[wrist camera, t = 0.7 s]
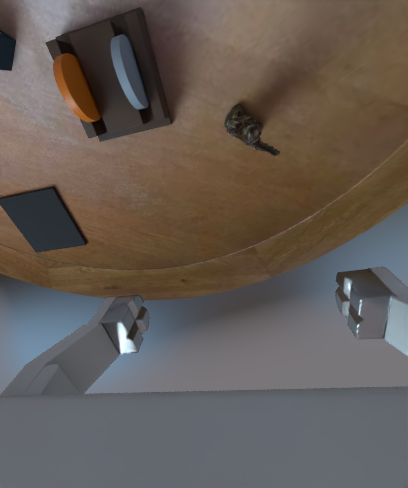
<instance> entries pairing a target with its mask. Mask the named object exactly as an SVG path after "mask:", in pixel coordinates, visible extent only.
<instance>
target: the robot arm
mask: <svg viewBox="0 0 408 488" xmlns="http://www.w3.org/2000/svg"><path fill="white" fill-rule="evenodd" d="M336 282H337V283H338V285H339V287H338V289H337V290H336V302H337V306H338V308H339V311H340V312H341V314H342V315H343V316H345V317H346V318H348V326H349V328H350V329H351V331H352V333H353V334H354V336H355V338H356V339H382V338H384V340H385V341H387V342H388V343H390V344H391V345H393V346H394V347H395V348H397V349H398V350H400V351H401V352H403V353H404V354H406V355H407V356H408V287H407V286H406V285H405V284H404V283H402V282H401V281H400V280H399V279H398V278H397V277H396V276H395V275H394V274H393V273H391V272H390V271H389V270H388V269H387V268H385V267H376V268H368V269H364V270H355V271H347V272H338V273H337V276H336ZM142 304H143V299H142V297H141V296H140V295H129V296H118V297H109V298H107V299H105V300H104V302H103V303H102V305H101V306H100V308H99V309H98V310H97V311H96V313H95V314H94V316H93V317H92V318H91V320H90V321H89V322H88V324H87V325H83V326H81V327H80V328H79V329H77V330H76V331H74V332H73V333H71V334H70V335H68V336H67V337H65V338H64V339H63V340H61V341H60V342H58V343H57V344H55V345H54V346H52V347H51V348H49V349H48V350H47V351H45V352H44V353H42V354H41V355H40V356H38V357H37V358H35V359H33V360H32V361H31V362H29V363H28V364H26V365H25V366H24V368H23V369H22V370H21V371H20V372H19V374H18V375H17V376H16V377H15V378H14V379H13V381H12V382H11V383H10V384H9V385H8V387H7V388H6V389H5V390H4V391H3V393H2V394H1V395H0V488H408V386H404V387H402V386H401V387H359V388H318V389H317V388H315V389H274V390H234V391H233V390H232V391H190V392H189V391H186V392H146V393H145V392H144V393H143V392H142V393H101V394H100V393H99V394H84V393H85V392H86V391H87V389H88V388H89V387H90V386H91V385H92V384H93V383H94V382H95V381H96V380H97V379H98V378H99V377H100V376H101V375H102V373H103V372H104V371H105V370H106V369H107V368H108V367H109V366H110V365H111V364H112V363H113V362H114V361H115V360H116V359H117V357H118V356H119V354H126V353H137V352H138V351H139V349H140V346H141V344H142V341H143V337H142V334H144V333H145V332H146V331H147V329H148V326H149V319H150V318H149V313H148V311H147V309H146V308H145V307H143V306H142Z"/></svg>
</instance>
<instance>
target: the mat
mask: <svg viewBox="0 0 408 488" xmlns="http://www.w3.org/2000/svg"><path fill="white" fill-rule="evenodd" d="M0 205H1V206H2V208H3V209H4V210H5V212H6V213H7V214H8V216H9V217H10V218H11V220H12V221H13V222H14V224H15V225H16V226H17V228H18V229H19V230H20V232H21V233H22V234H23V236H24V237H25V238H26V240H27V241H28V242H29V244H30V245H31V246H32V247H33V249H34V250H35V251H36V252H42V251H49V250H55V249H62V248H69V247H75V246H82V245H86V244H87V242H86V241H85V239H84V237H83V235H82V234H81V232H80V230H79V229H78V227H77V225H76V224H75V222H74V220H73V218H72V217H71V215H70V213H69V212H68V210H67V208H66V207H65V205H64V203H63V201H62V200H61V198H60V196H59V195H58V193H57V191H56V190H55V188H54V187H52V188H47V189H43V190H38V191H33V192H29V193H24V194H19V195H15V196H10V197H5V198H0Z"/></svg>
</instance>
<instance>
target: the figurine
mask: <svg viewBox="0 0 408 488" xmlns="http://www.w3.org/2000/svg"><path fill="white" fill-rule="evenodd" d="M224 126H225V127H226V128H227V132H229V133H230V135H231V136H235V137H237V138H239V139H240V140H241V141H242V142H244V143H245V144H246V145H249V146H252V148H253V149H255V150H260V151H266V152H269V153H271V154H272V155H275V156H276V155H278V154H280V151H278V150H277V149H274V147H273V146H270V145H268V144H267V143H266V144H265V143H263V142H262V141H261V138H260V135H261V128H262V124H261V123H260V122H259V121H258V120H256V119H255V118H254V117H253V116H252V115H251V114H250V113H249V112H247V111H246V110H245V109H244V108H243V107H242V106H241V105H236V106H235V107H233V108H232V109H231V111H230V112H229V114H228V115H227V117H226V120H225V123H224Z"/></svg>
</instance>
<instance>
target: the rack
mask: <svg viewBox="0 0 408 488" xmlns="http://www.w3.org/2000/svg"><path fill="white" fill-rule="evenodd" d="M122 34H123V35H125V36H126V37H127V38H128V39H129V40H130V42H131V43H132V45H133V47H134V50H135V53H136V56H137V60H138V63H139V67H140V70H141V73H142V77H143V80H144V84H145V87H146V90H147V94H148V97H149V105H148V107H147V108H143V109H136V108H135V107H134V106H133V105H132V104H131V103H130V101H129V100H128V98H127V97H126V95H125V93H124V91H123V89H122V87H121V84H120V82H119V80H118V77H117V74H116V71H115V68H114V64H113V60H112V55H111V40H112V38H113V37H116V36H119V35H122ZM46 45H47V47H48V49H49V51H50V54H51V56H52V58H53V60H55V58H56V57H57V56H59V55H62V54H66V53H69V54H72V55H74V56H75V57H76V58H77V59H79V61H80V64H81V66H82V69H83V71H84V74H85V76H86V78H87V81H88V83H89V86H90V88H91V91H92V93H93V96H94V98H95V101H96V103H97V106H98V108H99V111H100V113H101V118H100V119H99V120H98V121H94V122H85V121H83V120H81V119H80V120H81V122H82V125H83V127H84V129H85V131H86V134H87V136H88V138H92V137H96V136H98V138H99V140H100V141H104V140H109V139H113V138H117V137H121V136H125V135H129V134H133V133H137V132H141V131H145V130H149V129H153V128H157V127H162V126H166V125H170V124H172V120H171V116H170V112H169V109H168V105H167V101H166V97H165V93H164V89H163V86H162V82H161V78H160V74H159V70H158V66H157V62H156V59H155V55H154V51H153V47H152V43H151V39H150V36H149V32H148V28H147V24H146V20H145V16H144V13H143V9H142V8H141V7H140V8H137V9H134V10H131V11H129V12H126V13H123V14H120V15H117V16H114V17H112V18H109V19H106V20H103V21H100V22H98V23H95V24H92V25H89V26H86V27H83V28H81V29H78V30H75V31H72V32H69V33H67V34H64V35H61V36H58V37H56V39H54V40H51V41H49V42H46Z"/></svg>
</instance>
